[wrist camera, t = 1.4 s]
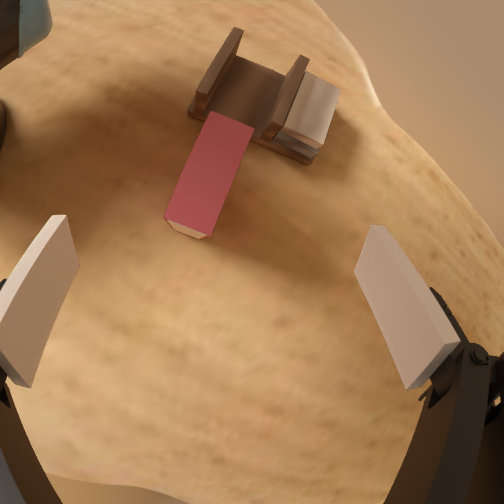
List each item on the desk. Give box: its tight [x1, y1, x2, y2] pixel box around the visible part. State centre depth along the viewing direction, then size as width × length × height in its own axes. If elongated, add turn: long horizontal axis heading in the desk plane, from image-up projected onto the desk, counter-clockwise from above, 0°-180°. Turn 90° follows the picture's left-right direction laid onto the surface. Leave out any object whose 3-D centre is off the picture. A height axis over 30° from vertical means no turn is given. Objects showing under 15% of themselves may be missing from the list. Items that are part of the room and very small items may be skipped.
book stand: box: [187, 27, 341, 166], centre depth 32 cm, size 16×10×7 cm, turn 69°
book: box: [163, 111, 255, 239], centre depth 28 cm, size 4×9×14 cm, turn 159°
